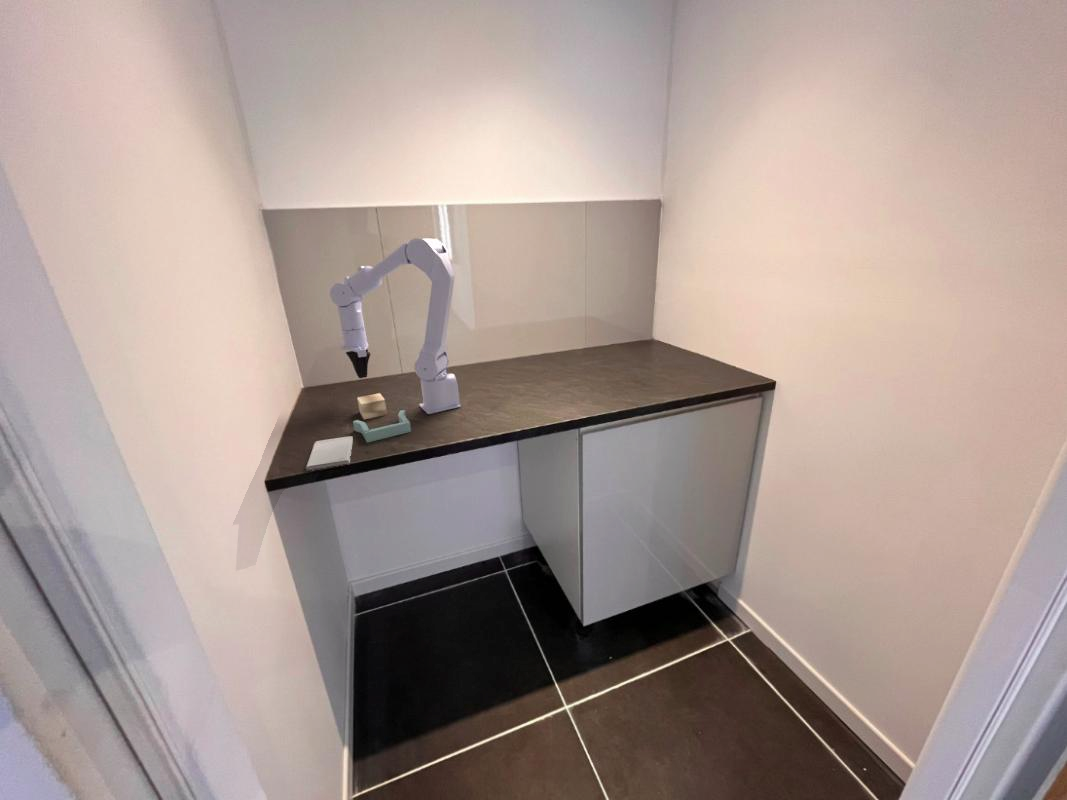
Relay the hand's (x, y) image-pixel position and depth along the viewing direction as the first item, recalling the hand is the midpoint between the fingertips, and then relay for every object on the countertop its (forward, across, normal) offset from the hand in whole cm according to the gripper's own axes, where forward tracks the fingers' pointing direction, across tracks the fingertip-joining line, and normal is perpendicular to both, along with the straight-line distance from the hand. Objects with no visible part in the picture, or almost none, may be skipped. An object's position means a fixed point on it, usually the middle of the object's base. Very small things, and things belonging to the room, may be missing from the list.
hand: (362, 376), depth 117 cm
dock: (+8, +22, 0) cm, 24 cm away
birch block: (+9, +8, 0) cm, 12 cm away
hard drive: (+9, +27, -13) cm, 31 cm away
